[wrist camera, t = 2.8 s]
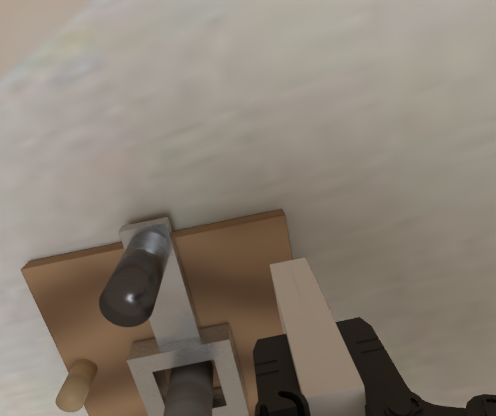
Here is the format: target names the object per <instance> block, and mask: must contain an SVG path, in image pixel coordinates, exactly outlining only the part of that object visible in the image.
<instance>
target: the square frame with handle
mask: <svg viewBox="0 0 496 416" xmlns="http://www.w3.org/2000/svg"><path fill="white" fill-rule="evenodd" d="M119 235H120V238H121V241H122V243H123V246H124V249H125V252H124V254H123V255H122V257H121V259H120V261H119V263H118V264H117V266H116V268H115V270H114V272H113V274H112V275H111V277H110V279H109V281H108V283H107V284H106V286H105V288H104V290H103V292H102V294H101V295H100V298H99V308H100V311H101V313H102V314H103V316H104V317H105V318H106V319H107V320H108V321H109V322H111V323H113V324H115V325H117V326H121V327H135V326H139V325H141V324H143V323H145V322H146V321H147V320H148V319H149V321H150V324H151V327H152V330H153V332H154V335H155V338H152V339H148V340H143V341H138V342H133V343H132V346H131V349H130V352H129V355H128V358H127V363H128V365H129V368H130V371H131V373H132V376H133V378H134V381H135V383H136V386H137V388H138V391H139V393H140V396H141V399H142V401H143V404H144V406H145V409H146V411H147V414H148V416H163V415H164V409H165V403H166V397H167V392H168V385H167V382H166V379H165V376H164V374H163V371H162V370H164V369H169V368H174V367H179V366H184V365H189V364H194V363H199V362H204V361H208V360H213V359H214V362H215V366H216V369H217V372H218V376H219V379H220V383H221V386H222V387H221V388H216V389H213V404H212V416H249V407H248V396H247V392H246V388H245V384H244V380H243V376H242V372H241V368H240V365H239V361H238V357H237V353H236V349H235V345H234V341H233V337H232V334H231V330H230V326H229V323H226V324H221V325H216V326H211V327H206V328H200V325H199V321H198V318H197V314H196V311H195V308H194V304H193V301H192V297H191V294H190V290H189V287H188V284H187V280H186V277H185V273H184V270H183V267H182V263H181V260H180V256H179V253H178V249H177V246H176V243H175V239H174V236H173V232H172V229H171V225H170V222H169V219H168V217H164V218H159V219H154V220H149V221H144V222H140V223H135V224H130V225H125V226H122V228H121V229H120V231H119Z"/></svg>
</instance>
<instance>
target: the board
mask: <svg viewBox="0 0 496 416" xmlns="http://www.w3.org/2000/svg"><path fill="white" fill-rule="evenodd" d="M173 236H174V239H175V243H176V246H177V249H178V253H179V256H180V260H181V263H182V267H183V270H184V273H185V277H186V280H187V284H188V287H189V290H190V294H191V297H192V301H193V304H194V308H195V311H196V314H197V318H198V321H199V325H200V328H206V327H211V326H216V325H221V324H226V323H229V326H230V330H231V334H232V337H233V341H234V345H235V349H236V353H237V357H238V361H239V365H240V368H241V372H242V376H243V380H244V384H245V388H246V392H247V396H248V407H249V416H255V415H254V414H255V406H256V404H257V402H258V394H257V385H256V376H255V368H254V360H253V349H254V347H255V344H256V342H257V339H262V338H267V337H272V336H277V335H282V334H284V332H283V328H282V324H281V320H280V315H279V310H278V305H277V300H276V295H275V290H274V285H273V280H272V275H271V269H270V264H275V263H280V262H285V261H290V260H293V259H292V253H291V247H290V241H289V235H288V230H287V224H286V218H285V214H284V212H283V210H282V209H280V210H275V211H271V212H266V213H261V214H256V215H251V216H246V217H241V218H237V219H232V220H227V221H222V222H217V223H212V224H207V225H203V226H198V227H193V228H188V229H183V230H178V231H173ZM124 252H125V249H124V246H123V243H122V242H120V243H115V244H110V245H105V246H101V247H96V248H91V249H86V250H81V251H76V252H71V253H67V254H62V255H57V256H52V257H47V258H42V259H37V260H33V261H29V262H28V263H27V264H26V265H25V266H24V267H23V268H22V269H21V272H22V274H23V276H24V278H25V280H26V283H27V285H28V287H29V289H30V291H31V293H32V295H33V298H34V300H35V302H36V304H37V306H38V308H39V310H40V312H41V315H42V317H43V319H44V321H45V323H46V325H47V327H48V329H49V332H50V334H51V336H52V338H53V340H54V342H55V344H56V347H57V349H58V351H59V353H60V355H61V357H62V359H63V361H64V364H65V366H66V368H67V370H68V372H69V374H68V376H67V378H66V380H65V382H64V384H63V386H62V388H61V390H60V392H59V394H58V396H57V398H56V405H57V406H58V407H59V408H60V409H61V410H63V411H66V412H76V411H78V410H80V409H81V408H82V406H83V404H84V406H85V408H86V410H87V413H88V415H89V416H148V414H147V411H146V409H145V406H144V404H143V401H142V399H141V396H140V393H139V391H138V388H137V386H136V383H135V381H134V378H133V376H132V373H131V371H130V368H129V365H128V363H127V358H128V355H129V352H130V349H131V346H132V343H133V342H138V341H143V340H148V339H152V338H155V335H154V332H153V330H152V327H151V324H150V321H149V319H148V320H147V321H146V322H145V323H143V324H141V325H139V326H135V327H121V326H117V325H115V324H113V323H111V322H109V321H108V320H107V319H106V318H105V317H104V316H103V314H102V313H101V311H100V308H99V298H100V295H101V294H102V292H103V290H104V288H105V286H106V284H107V283H108V281H109V279H110V277H111V275H112V274H113V272H114V270H115V268H116V266H117V264H118V263H119V261H120V259H121V257H122V255H123V254H124ZM162 371H163V374H164V376H165V379H166V382H167V385H168V392H167V397H166V403H165V409H164V415H163V416H212V404H213V389H216V388H221V387H222V386H221V383H220V379H219V376H218V372H217V369H216V366H215V362H214V359H213V360H208V361H204V362H199V363H194V364H189V365H184V366H179V367H174V368H169V369H164V370H162Z"/></svg>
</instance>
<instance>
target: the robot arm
mask: <svg viewBox="0 0 496 416" xmlns="http://www.w3.org/2000/svg"><path fill="white" fill-rule="evenodd" d="M270 269H271V275H272V280H273V285H274V290H275V295H276V300H277V305H278V310H279V315H280V320H281V324H282V328H283V332H284V334H282V335H277V336H272V337H267V338H262V339H257V342H256V344H255V347H254V349H253V360H254V368H255V376H256V385H257V394H258V402H257V404H256V406H255V414H254V415H255V416H496V395H488V394H483V395H479V396H475V397H473V398H472V399H471V400H470V401H468V402H467V406H466V408H456V407H445V406H439V405H434V404H431V403H428V402H426V401H424V400H422V399H421V398H420V397H419V396H418V395H416V394H415V393H413V392H411V391H410V389H409V388H408V387H407V385H406V384H405V382H404V380H403V379H402V377H401V375H400V374H399V372H398V370H397V369H396V367H395V365H394V363H393V362H392V360H391V358H390V357H389V355H388V353H387V352H386V350H385V349H384V347H383V345H382V343H381V341H380V340H379V339H378V336H377V335H376V333H375V331H374V330H373V328H372V326H371V325H369V324H368V323H367V322H365V321H364V320H362V319H361V318H360V317H359V318H354V319H349V320H344V321H339V322H335V321H334V319H333V316H332V314H331V312H330V310H329V308H328V305H327V303H326V301H325V299H324V297H323V294H322V292H321V290H320V288H319V286H318V283H317V281H316V279H315V277H314V275H313V273H312V270H311V268H310V266H309V264H308V262H307V259H306V257H304V258H299V259H294V260H290V261H285V262H280V263H275V264H270Z"/></svg>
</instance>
